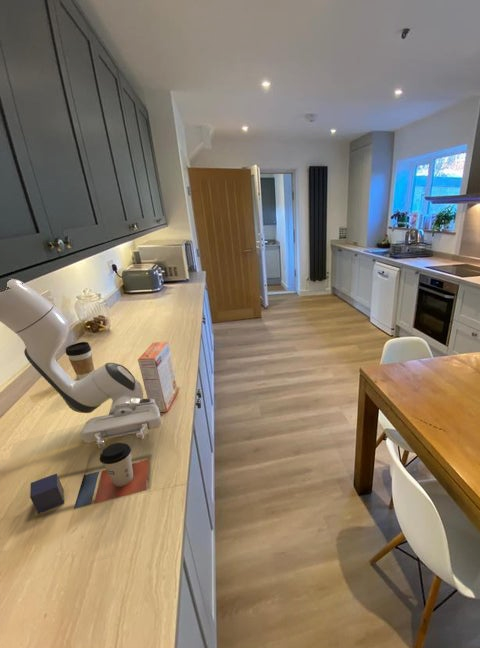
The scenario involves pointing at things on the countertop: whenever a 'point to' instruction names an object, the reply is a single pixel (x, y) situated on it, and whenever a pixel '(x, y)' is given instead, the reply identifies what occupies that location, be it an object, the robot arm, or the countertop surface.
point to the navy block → (47, 493)
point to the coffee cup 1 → (80, 359)
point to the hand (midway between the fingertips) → (120, 441)
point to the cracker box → (159, 375)
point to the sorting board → (112, 485)
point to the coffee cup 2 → (118, 463)
